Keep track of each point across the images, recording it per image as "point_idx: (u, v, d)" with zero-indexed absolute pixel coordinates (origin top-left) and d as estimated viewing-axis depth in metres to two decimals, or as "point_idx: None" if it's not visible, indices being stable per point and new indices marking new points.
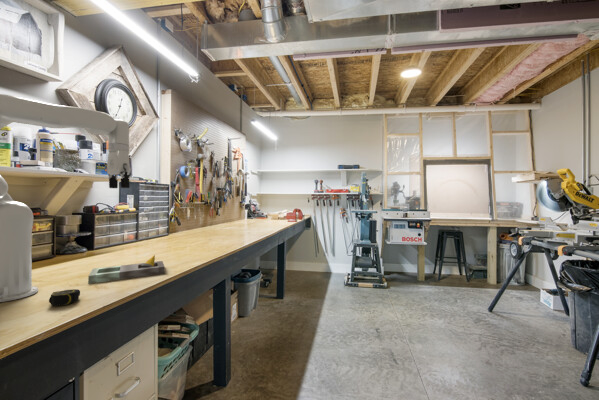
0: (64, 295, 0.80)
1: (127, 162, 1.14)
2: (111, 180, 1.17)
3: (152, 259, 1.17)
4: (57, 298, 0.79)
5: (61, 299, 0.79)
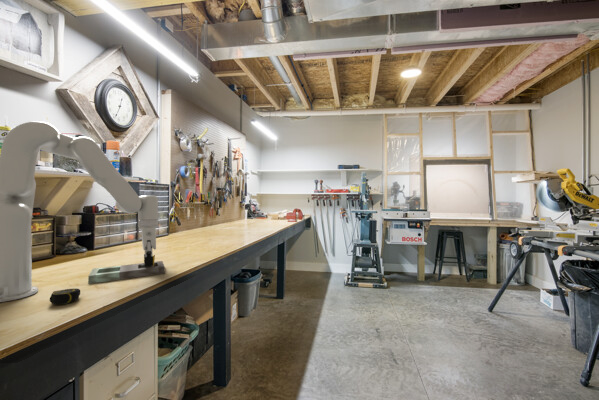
0: (64, 294, 0.80)
1: None
2: None
3: None
4: (57, 297, 0.79)
5: (61, 298, 0.80)
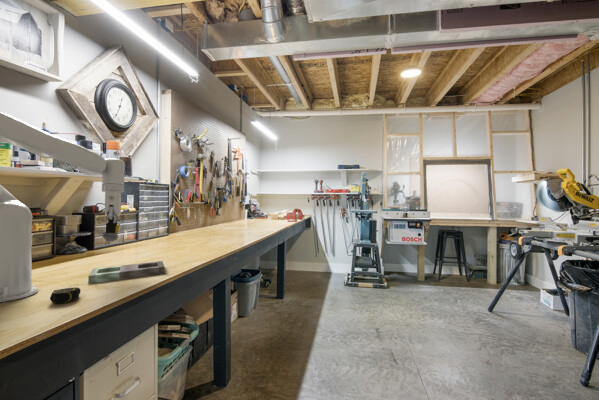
0: (65, 293, 0.81)
1: None
2: None
3: (116, 227, 1.10)
4: (58, 295, 0.80)
5: (62, 297, 0.81)
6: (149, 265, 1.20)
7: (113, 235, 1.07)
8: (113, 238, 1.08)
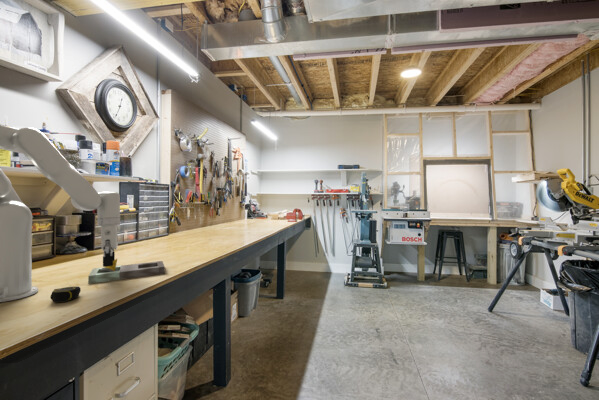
0: (65, 292, 0.82)
1: None
2: None
3: (113, 263, 1.10)
4: (58, 294, 0.81)
5: (62, 296, 0.82)
6: (149, 265, 1.20)
7: None
8: None
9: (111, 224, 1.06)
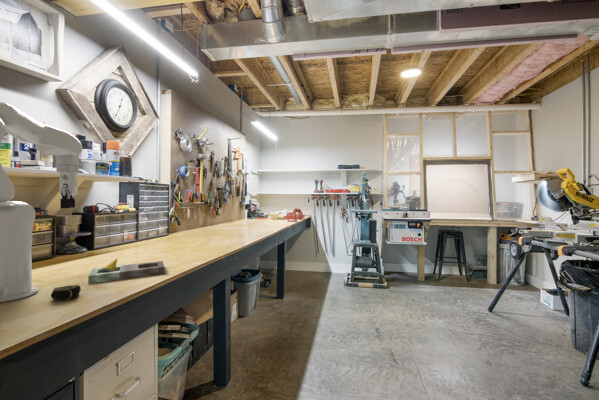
0: (65, 290, 0.83)
1: None
2: None
3: (113, 263, 1.10)
4: (58, 293, 0.83)
5: (62, 294, 0.83)
6: (149, 265, 1.20)
7: None
8: None
9: (69, 170, 1.14)
